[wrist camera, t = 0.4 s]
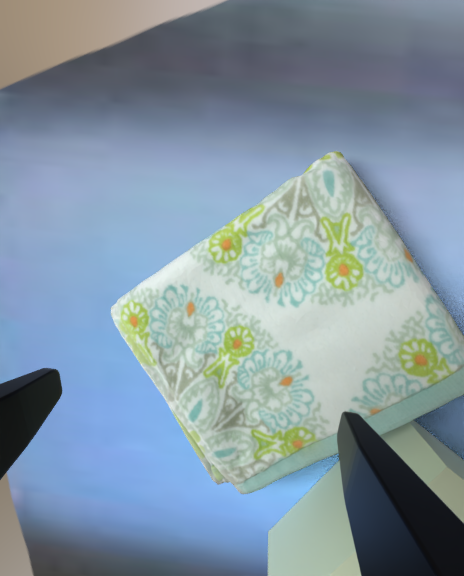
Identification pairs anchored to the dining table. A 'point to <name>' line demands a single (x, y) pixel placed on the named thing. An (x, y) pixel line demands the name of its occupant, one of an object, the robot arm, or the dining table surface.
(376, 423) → the towel
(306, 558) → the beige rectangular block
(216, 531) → the dining table surface
